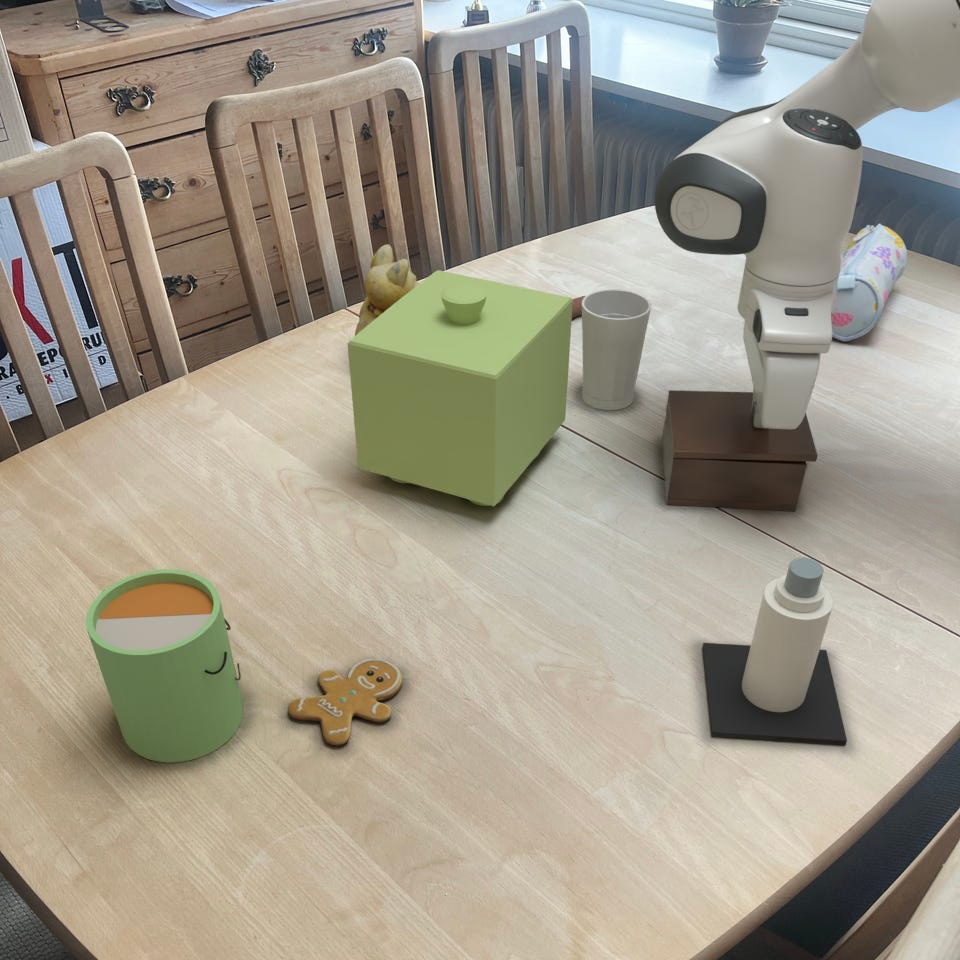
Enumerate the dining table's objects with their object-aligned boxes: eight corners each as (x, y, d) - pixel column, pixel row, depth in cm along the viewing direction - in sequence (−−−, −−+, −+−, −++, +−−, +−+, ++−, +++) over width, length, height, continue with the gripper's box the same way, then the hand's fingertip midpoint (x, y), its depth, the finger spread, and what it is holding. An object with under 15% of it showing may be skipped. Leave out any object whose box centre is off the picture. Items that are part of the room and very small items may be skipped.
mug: (242, 758, 85) (218, 651, 77) (111, 766, 85) (73, 658, 77) (254, 653, 95) (234, 547, 86) (137, 659, 94) (105, 553, 86)
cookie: (275, 700, 89) (360, 639, 94) (276, 708, 89) (360, 647, 95) (342, 749, 85) (427, 682, 90) (343, 756, 85) (427, 690, 91)
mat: (825, 654, 95) (826, 649, 94) (845, 745, 86) (847, 740, 86) (702, 647, 95) (703, 642, 95) (711, 736, 87) (712, 731, 87)
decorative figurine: (435, 373, 133) (432, 257, 123) (379, 392, 129) (371, 274, 119) (396, 344, 139) (389, 230, 128) (341, 361, 135) (330, 246, 125)
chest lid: (799, 399, 116) (800, 393, 115) (816, 461, 107) (817, 455, 106) (667, 396, 117) (668, 390, 116) (673, 458, 108) (674, 451, 107)
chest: (780, 447, 120) (791, 402, 116) (795, 511, 111) (807, 465, 107) (661, 441, 121) (667, 396, 117) (666, 504, 112) (673, 458, 108)
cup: (630, 378, 132) (640, 286, 124) (648, 410, 126) (660, 316, 118) (568, 383, 131) (574, 291, 123) (584, 416, 125) (591, 321, 117)
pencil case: (839, 279, 154) (854, 214, 147) (899, 291, 151) (918, 224, 144) (804, 338, 140) (820, 269, 134) (870, 352, 137) (890, 282, 131)
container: (440, 406, 127) (435, 242, 113) (564, 438, 121) (575, 270, 108) (359, 487, 114) (343, 313, 100) (494, 526, 109) (497, 348, 95)
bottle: (800, 670, 92) (836, 548, 83) (809, 714, 88) (847, 591, 79) (738, 666, 93) (767, 544, 83) (744, 710, 89) (775, 587, 79)
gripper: (742, 252, 109) (721, 372, 119) (764, 343, 94) (738, 472, 104) (803, 254, 109) (778, 374, 118) (836, 346, 94) (803, 475, 103)
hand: (759, 421), depth 111 cm, fingers closed, pressing on chest lid
